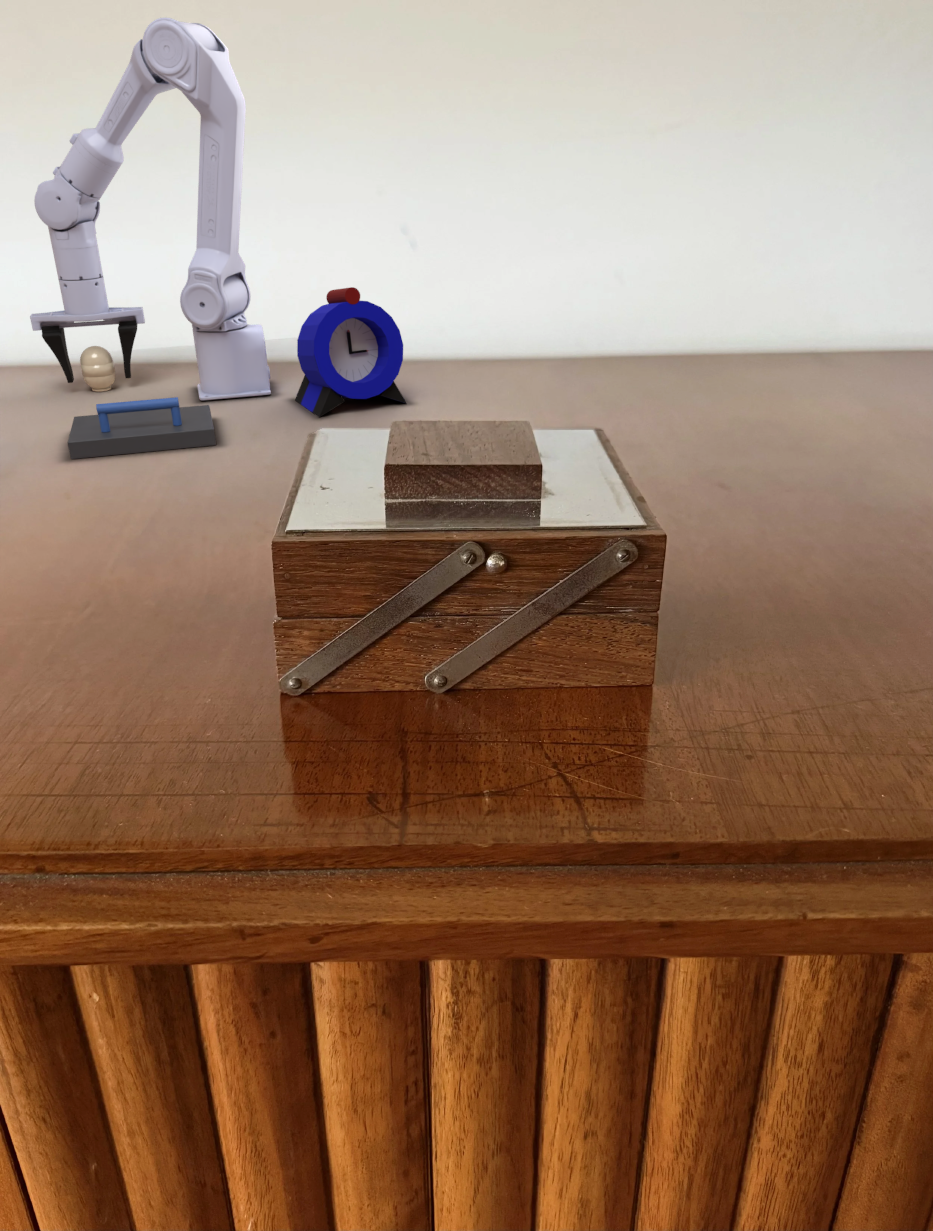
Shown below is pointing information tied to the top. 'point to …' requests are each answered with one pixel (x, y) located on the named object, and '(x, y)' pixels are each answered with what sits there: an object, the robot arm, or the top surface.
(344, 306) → the alarm clock
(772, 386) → the top surface
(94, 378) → the lidded jar
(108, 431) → the handle board
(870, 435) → the top surface
